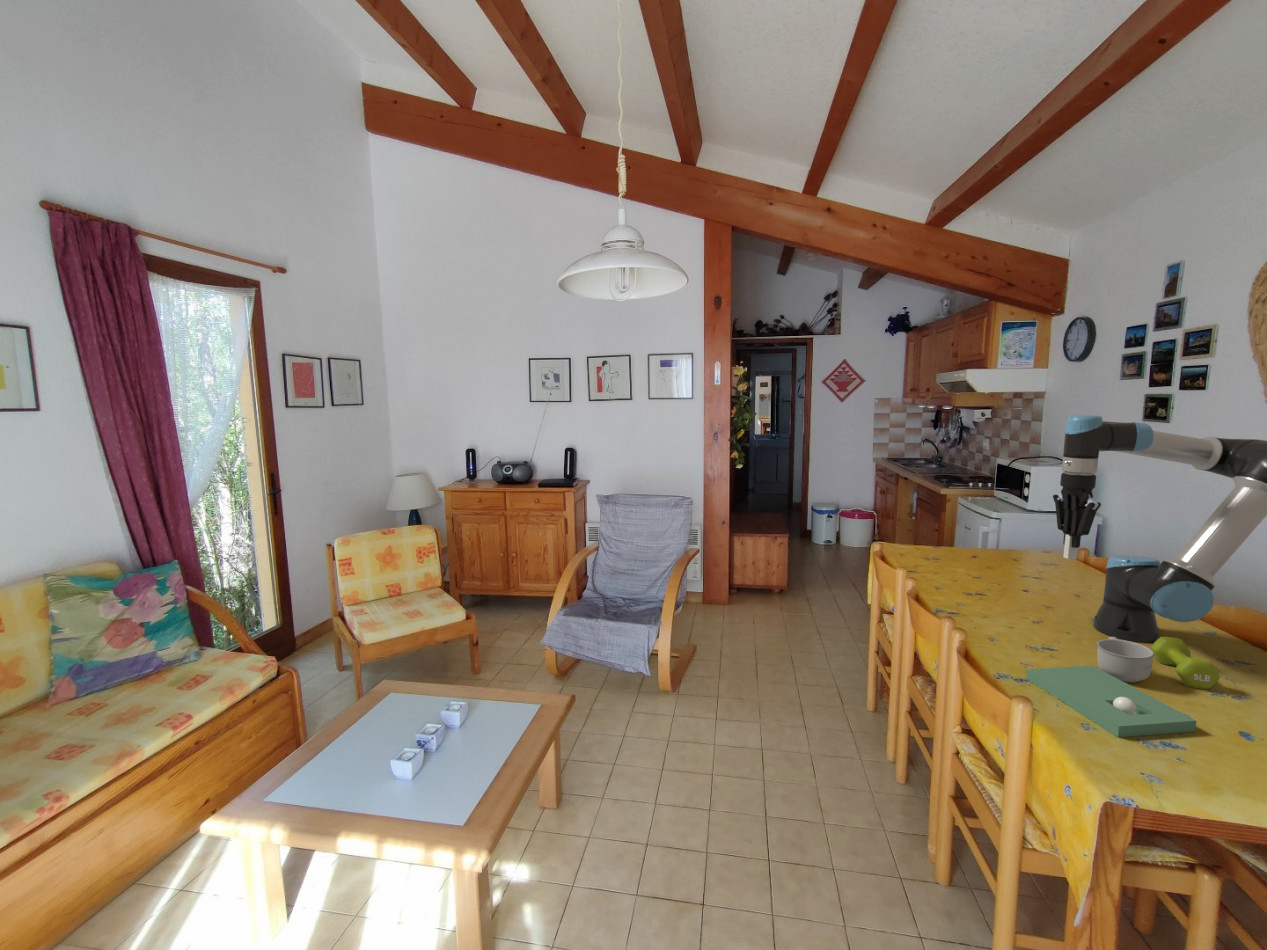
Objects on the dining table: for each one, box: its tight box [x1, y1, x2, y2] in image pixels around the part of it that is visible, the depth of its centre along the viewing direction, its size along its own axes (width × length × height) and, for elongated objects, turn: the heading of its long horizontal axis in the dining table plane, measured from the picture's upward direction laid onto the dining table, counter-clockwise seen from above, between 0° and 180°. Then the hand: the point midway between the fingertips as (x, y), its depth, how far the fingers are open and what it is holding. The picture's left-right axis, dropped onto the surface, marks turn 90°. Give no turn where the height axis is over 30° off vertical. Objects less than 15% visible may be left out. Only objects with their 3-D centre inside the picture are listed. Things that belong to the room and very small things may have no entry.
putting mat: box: [1025, 665, 1198, 738], centre depth 133 cm, size 18×25×2 cm
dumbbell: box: [1150, 636, 1221, 690], centre depth 146 cm, size 16×8×7 cm, turn 159°
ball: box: [1113, 697, 1136, 715], centre depth 128 cm, size 4×4×4 cm
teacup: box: [1096, 636, 1154, 683], centre depth 146 cm, size 14×11×8 cm
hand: (1070, 557), depth 158 cm, fingers closed
